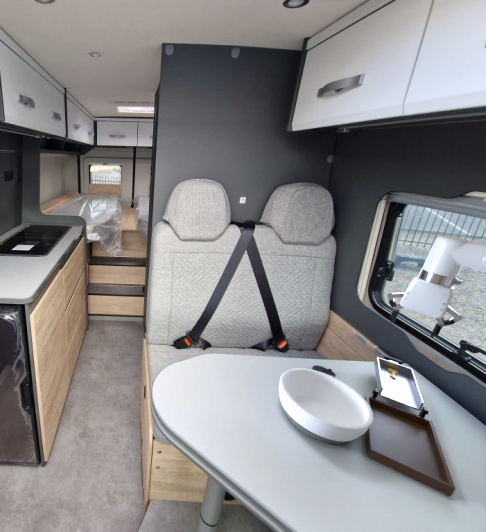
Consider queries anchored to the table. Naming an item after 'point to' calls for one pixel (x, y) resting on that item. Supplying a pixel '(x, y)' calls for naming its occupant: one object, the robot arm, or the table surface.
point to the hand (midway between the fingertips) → (411, 328)
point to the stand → (422, 413)
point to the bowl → (323, 406)
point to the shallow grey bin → (397, 383)
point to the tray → (407, 445)
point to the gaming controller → (324, 370)
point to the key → (392, 372)
